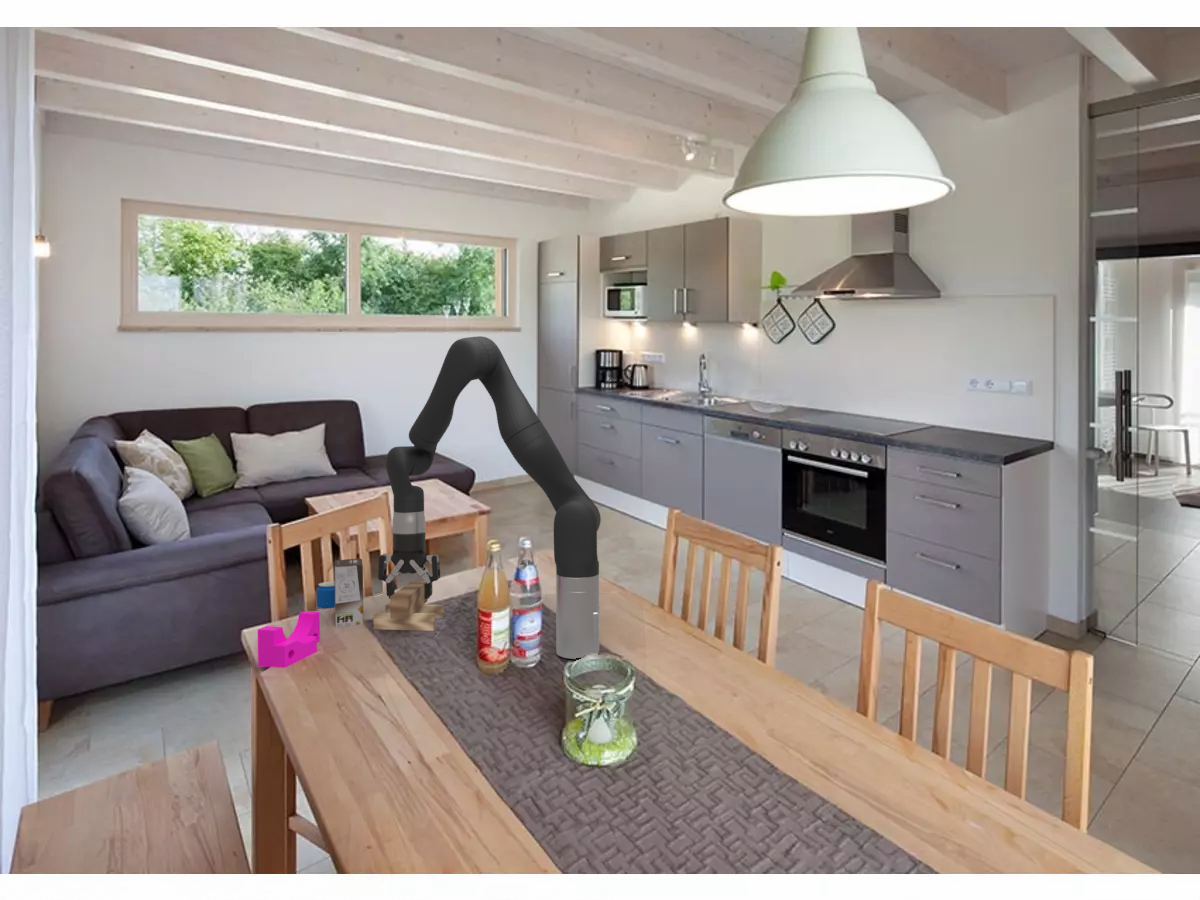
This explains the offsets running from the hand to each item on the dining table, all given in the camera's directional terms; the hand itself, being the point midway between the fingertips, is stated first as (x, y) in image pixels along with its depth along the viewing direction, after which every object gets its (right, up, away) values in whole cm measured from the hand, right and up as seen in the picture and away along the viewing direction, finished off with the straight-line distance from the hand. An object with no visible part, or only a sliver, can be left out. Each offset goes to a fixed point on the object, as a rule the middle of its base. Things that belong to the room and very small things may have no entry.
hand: (409, 598), depth 167 cm
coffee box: (-15, -8, +2) cm, 17 cm away
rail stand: (0, -8, 0) cm, 8 cm away
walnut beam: (0, -3, 0) cm, 3 cm away
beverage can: (-23, -11, +10) cm, 27 cm away
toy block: (-19, -9, -18) cm, 28 cm away
